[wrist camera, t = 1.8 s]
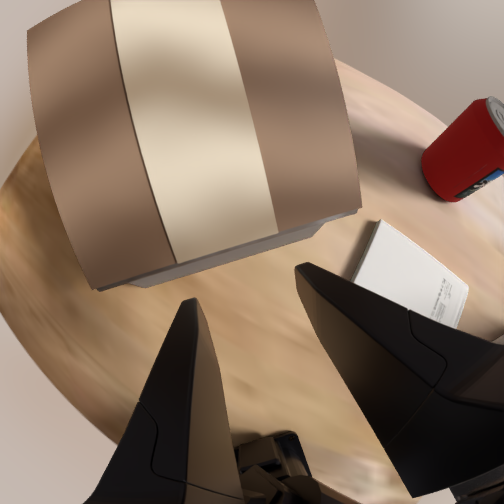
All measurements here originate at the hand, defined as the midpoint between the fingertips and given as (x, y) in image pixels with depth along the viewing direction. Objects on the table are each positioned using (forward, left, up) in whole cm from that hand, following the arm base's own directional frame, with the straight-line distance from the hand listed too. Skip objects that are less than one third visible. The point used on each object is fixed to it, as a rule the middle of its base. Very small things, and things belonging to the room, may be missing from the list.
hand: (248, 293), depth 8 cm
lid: (+9, 0, -2) cm, 9 cm away
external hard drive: (-4, -14, -14) cm, 21 cm away
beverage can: (+6, -24, -14) cm, 29 cm away
